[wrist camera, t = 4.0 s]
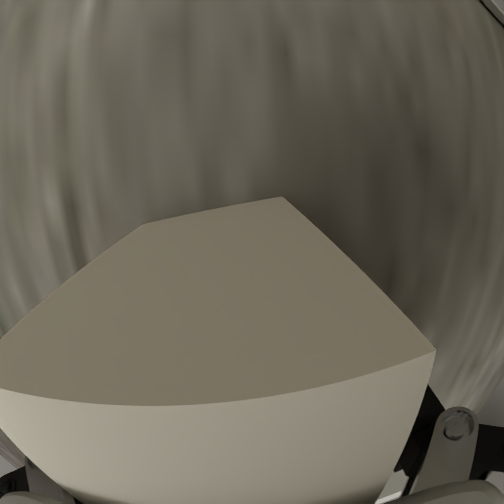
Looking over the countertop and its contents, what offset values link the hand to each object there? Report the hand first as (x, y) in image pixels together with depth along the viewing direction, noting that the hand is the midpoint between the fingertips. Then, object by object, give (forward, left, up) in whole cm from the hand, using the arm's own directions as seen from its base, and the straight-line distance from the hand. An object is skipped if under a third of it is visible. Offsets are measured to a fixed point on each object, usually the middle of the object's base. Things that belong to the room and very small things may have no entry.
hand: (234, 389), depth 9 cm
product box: (0, 0, -4) cm, 4 cm away
